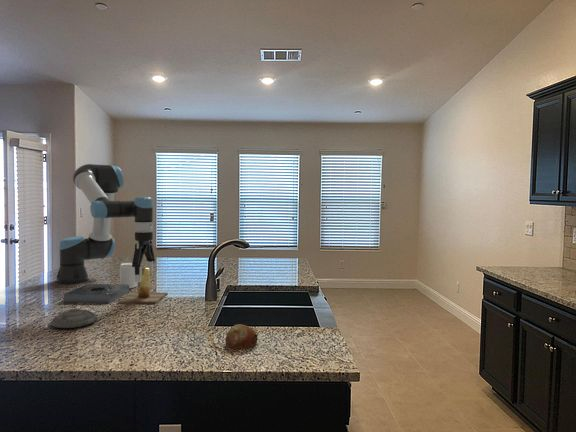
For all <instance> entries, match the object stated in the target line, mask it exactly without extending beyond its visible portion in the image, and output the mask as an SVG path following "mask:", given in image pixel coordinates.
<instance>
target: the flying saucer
mask: <svg viewBox="0 0 576 432" xmlns="http://www.w3.org/2000/svg"><path fill="white" fill-rule="evenodd" d="M97 319H98V316H97V315H96V314H95V313H94V312H92V311H90V310H86V309H81V308H74V309H73V308H72V309H68V310H66V311H63V312H61V313H59V314H58V315H56V316H55V317H54V318H53V319H52V320H51V321H50V325H51V326H52V327H54V328H58V329H72V328H73V329H74V328H80V327H84V326H87V325H90V324H92V323H94V322H96V321H97Z"/></svg>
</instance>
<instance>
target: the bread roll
mask: <svg viewBox="0 0 576 432" xmlns="http://www.w3.org/2000/svg"><path fill="white" fill-rule="evenodd" d="M224 341H225V345H226V347H227V348H229V349H231V350H232V349H234V350H245V349H249V348H250V349H251V348H252V347H254V346H255V345H256V344H257V342H258V334H257V331H256V330H255V329H254V328H252V327H250V326H248V325H245V324H241V323H239V324H235V325H233V326H232V327H230V328H229V330H228V331H227V333H226V336H225V339H224Z"/></svg>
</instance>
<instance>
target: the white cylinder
mask: <svg viewBox="0 0 576 432" xmlns="http://www.w3.org/2000/svg"><path fill="white" fill-rule="evenodd" d="M119 285H129V290H130V289H134V288H136V287H138V282H135V271H134V267H132V262H122V263H121V264H120V265H119Z"/></svg>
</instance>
